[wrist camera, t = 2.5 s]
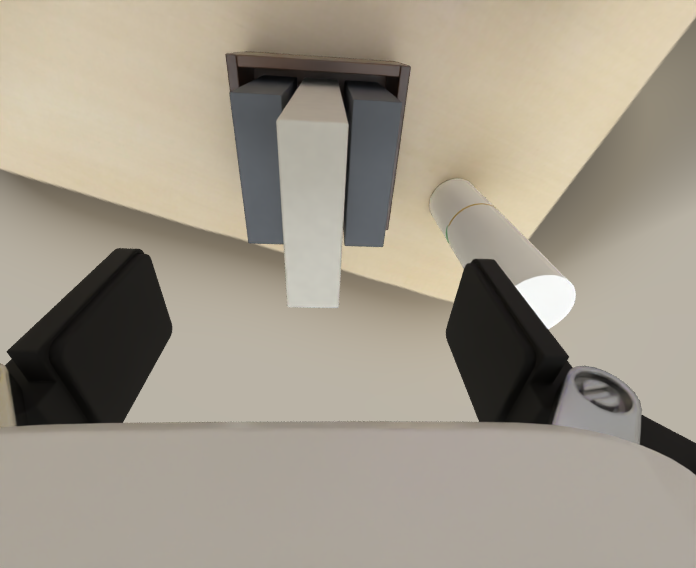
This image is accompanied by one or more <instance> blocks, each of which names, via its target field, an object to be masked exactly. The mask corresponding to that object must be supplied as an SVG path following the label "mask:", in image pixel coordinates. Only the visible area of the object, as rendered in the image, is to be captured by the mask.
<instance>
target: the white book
mask: <svg viewBox="0 0 696 568" xmlns="http://www.w3.org/2000/svg"><path fill="white" fill-rule="evenodd" d="M276 125H277V142H278V158H279V175H280V192H281V209H282V226H283V242H284V258H285V276H286V292H287V306H288V307H307V308H308V307H309V308H311V307H312V308H338V307H339V294H340V276H341V275H340V274H341V257H342V239H343V220H344V202H345V183H346V164H347V146H348V127H349V125H348V121H347V117H346V113H345V108H344V104H343V100H342V96H341V92H340V88H339V83H338V80H334V79H318V78H304V80H303V81H302V83H301V84H300V86H299V87H298V89H297V90H296V92H295V93H294V95H293V96H292V98H291V99H290V101H289V102H288V104H287V105H286V107H285V108H284V110H283V111H282V113H281V114H280V116H279V117H278V119H277V121H276Z"/></svg>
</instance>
